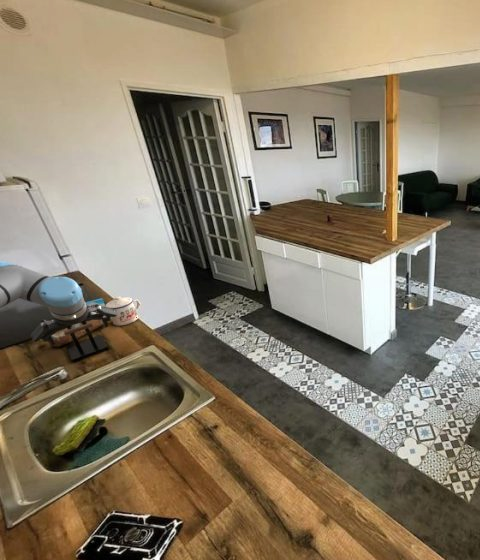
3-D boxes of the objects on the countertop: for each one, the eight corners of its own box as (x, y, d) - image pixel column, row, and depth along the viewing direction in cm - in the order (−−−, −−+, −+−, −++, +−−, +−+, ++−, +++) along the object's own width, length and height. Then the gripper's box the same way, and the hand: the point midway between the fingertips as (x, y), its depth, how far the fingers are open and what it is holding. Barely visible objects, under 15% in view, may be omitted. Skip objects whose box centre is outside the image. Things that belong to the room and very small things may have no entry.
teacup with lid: (123, 327, 130) (112, 303, 125) (107, 324, 132) (96, 300, 127) (150, 313, 140) (142, 291, 135) (135, 310, 142) (127, 288, 137)
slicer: (109, 349, 117) (94, 318, 111) (73, 362, 110) (56, 330, 104) (101, 337, 124) (87, 307, 118) (67, 348, 117) (51, 317, 111)
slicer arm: (94, 328, 107) (91, 321, 106) (66, 337, 102) (62, 330, 101) (88, 320, 115) (86, 314, 115) (63, 328, 111) (59, 322, 110)
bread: (48, 347, 117) (41, 335, 115) (102, 321, 134) (98, 310, 131) (59, 350, 115) (52, 338, 113) (113, 324, 132) (108, 313, 130)
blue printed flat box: (107, 309, 143) (102, 297, 140) (107, 310, 142) (102, 299, 139) (71, 320, 134) (65, 307, 132) (72, 321, 133) (66, 309, 131)
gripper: (12, 339, 83) (32, 359, 98) (126, 304, 100) (129, 326, 115) (0, 315, 84) (22, 339, 99) (116, 285, 101) (120, 309, 116)
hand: (80, 332), depth 107 cm, fingers open, 13 cm apart
